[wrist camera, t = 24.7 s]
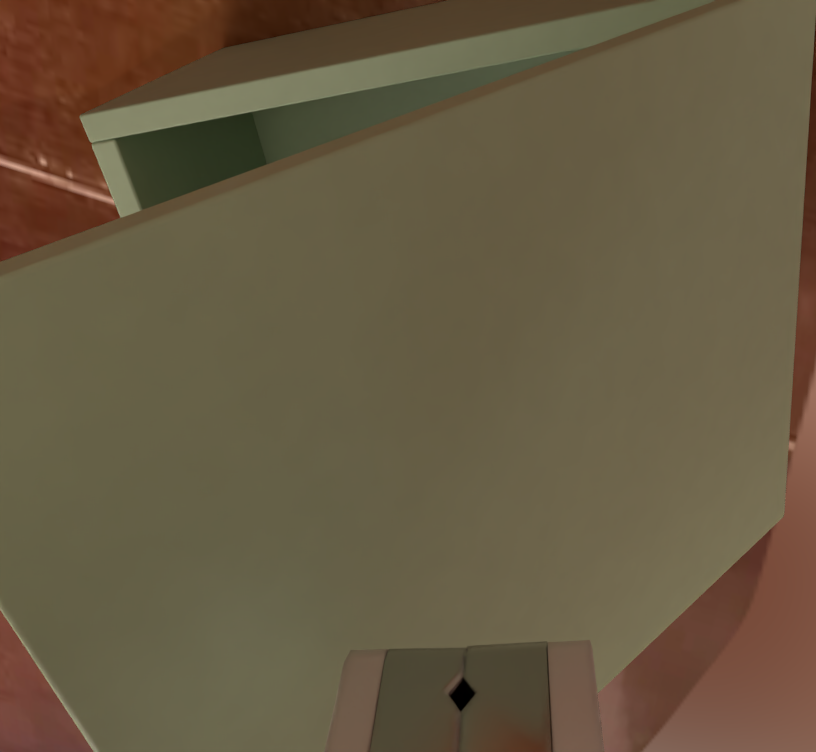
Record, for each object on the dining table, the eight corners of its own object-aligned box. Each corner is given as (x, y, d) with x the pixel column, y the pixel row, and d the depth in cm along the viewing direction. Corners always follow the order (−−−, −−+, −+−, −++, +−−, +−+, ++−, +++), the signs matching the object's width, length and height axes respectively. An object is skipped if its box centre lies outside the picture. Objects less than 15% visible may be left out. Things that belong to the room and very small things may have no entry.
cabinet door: (248, 978, 12) (265, 1012, 12) (-178, 324, 6) (-177, 342, 6) (762, 506, 19) (785, 516, 19) (786, -26, 13) (820, -31, 13)
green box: (318, 372, 30) (249, 541, 22) (221, 47, 24) (78, 115, 16) (691, 328, 27) (769, 502, 19) (685, -51, 21) (796, -30, 13)
